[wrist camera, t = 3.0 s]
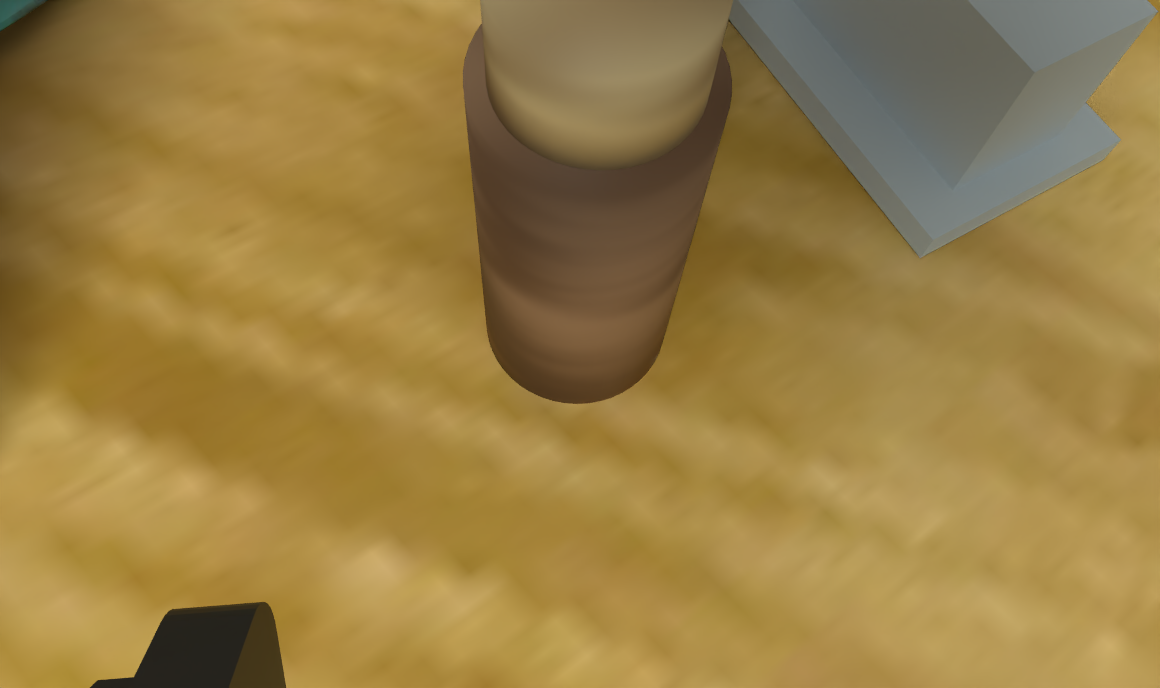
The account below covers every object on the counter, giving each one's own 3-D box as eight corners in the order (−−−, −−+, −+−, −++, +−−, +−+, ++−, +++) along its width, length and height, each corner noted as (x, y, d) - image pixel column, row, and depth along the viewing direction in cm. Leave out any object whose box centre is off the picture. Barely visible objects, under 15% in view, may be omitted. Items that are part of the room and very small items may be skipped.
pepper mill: (455, 289, 27) (399, -79, 16) (607, 217, 28) (657, -174, 17) (541, 435, 25) (548, 143, 14) (698, 352, 27) (822, 20, 15)
